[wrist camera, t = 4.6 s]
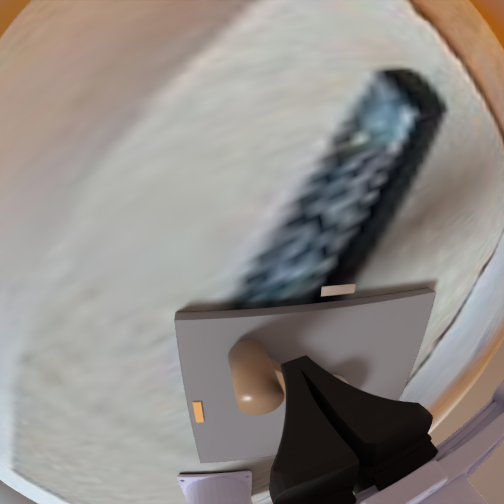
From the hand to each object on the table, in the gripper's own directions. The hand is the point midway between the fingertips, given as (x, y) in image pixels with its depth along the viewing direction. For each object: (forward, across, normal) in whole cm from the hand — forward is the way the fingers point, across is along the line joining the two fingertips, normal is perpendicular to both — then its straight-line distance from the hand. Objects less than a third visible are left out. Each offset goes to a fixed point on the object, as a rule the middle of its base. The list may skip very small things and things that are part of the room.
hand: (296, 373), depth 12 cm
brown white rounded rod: (+4, 0, +5) cm, 6 cm away
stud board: (+5, -2, +8) cm, 10 cm away
